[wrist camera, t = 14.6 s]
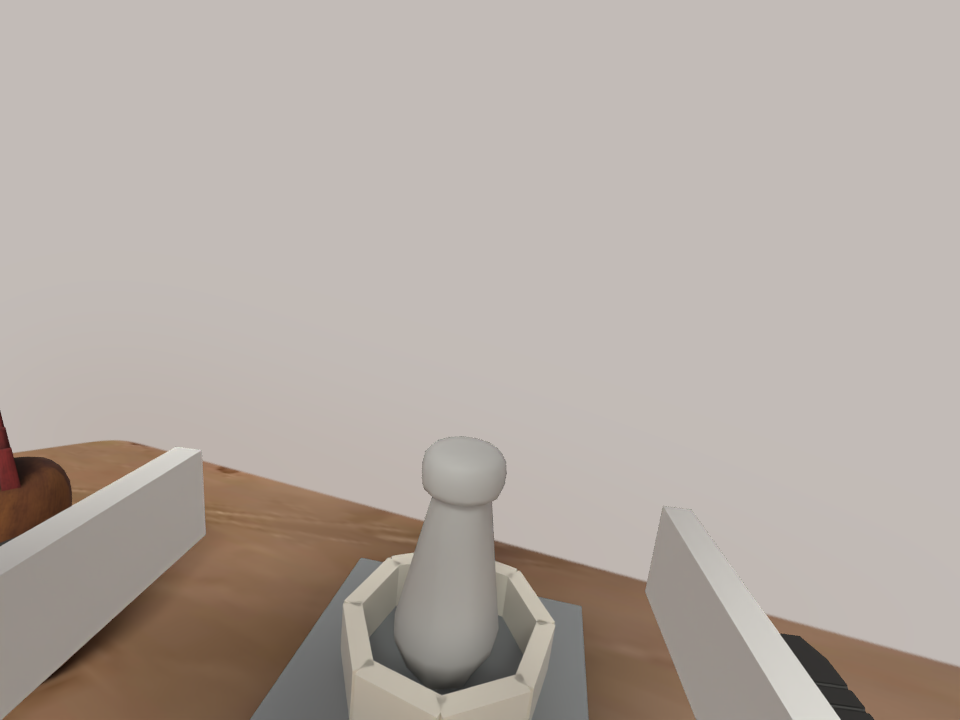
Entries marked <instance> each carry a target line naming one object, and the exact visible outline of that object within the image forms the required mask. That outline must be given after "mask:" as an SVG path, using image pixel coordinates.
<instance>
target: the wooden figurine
mask: <svg viewBox="0 0 960 720" xmlns="http://www.w3.org/2000/svg"><path fill="white" fill-rule="evenodd" d="M71 506H72V491H71V485H70V480H69V478H68V476H67V475H66V473H65V471H64V470H63V469H62V468H61V466H60V465H58V464H57V463H55V462H54V461H52V460H50V459H47V458H44V457H18V458H14V457H13V453H12V449H11V448H10V444H9V440H8V436H7V433H6V428H5V427H4V424H3V420H2V416H1V412H0V543H1V542H4V541H6V540H9V539H12V538H14V537H17V536H19V535H21V534H23V533H25V532H27V531H28V530H30V529H32V528H34V527H35V526H37V525H39V524H41V523H42V522H44V521H46V520H48V519H50V518H51V517H53V516H55V515H57V514H58V513H60V512H62V511H64V510H65V509H67V508H69V507H71ZM68 660H69V659H68ZM68 660H67V661H68ZM67 661H66V662H67ZM66 662H65V663H66ZM65 663H63V664H62V665H64V664H65ZM62 665H61V666H62ZM61 666H60V667H61ZM60 667H59V668H60Z"/></svg>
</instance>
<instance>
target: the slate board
mask: <svg viewBox="0 0 960 720" xmlns="http://www.w3.org/2000/svg"><path fill="white" fill-rule="evenodd" d="M382 563H383V562H379V561H374V560H370V559H365V558H360V560H359V561H358V563H357V564H356V566H355V567H354V569H353V570H352V571H351V573H350V574H349V576H348V577H347V579H346V580H345V582H344V583H343V585H342V586H341V588H340V589H339V590H338V592H337V593H336V595H335V596H334V598H333V599H332V601H331V602H330V604H329V605H328V607H327V608H326V609H325V611H324V612H323V614H322V615H321V617H320V618H319V620H318V621H317V623H316V624H315V625H314V627H313V628H312V630H311V631H310V633H309V634H308V636H307V637H306V639H305V640H304V642H303V643H302V644H301V646H300V647H299V649H298V650H297V652H296V653H295V655H294V656H293V658H292V659H291V661H290V662H289V663H288V665H287V666H286V668H285V669H284V671H283V672H282V674H281V675H280V677H279V678H278V680H277V681H276V682H275V684H274V685H273V687H272V688H271V690H270V691H269V693H268V694H267V696H266V697H265V698H264V700H263V701H262V703H261V704H260V706H259V707H258V709H257V710H256V712H255V713H254V715H253V716H252V717H251V719H250V720H349V714H348V706H347V698H346V690H345V681H344V673H343V665H342V657H341V631H342V613H343V604H344V600H345V599H346V598H347V597H348V596H349V595H350V594H351V593H352V592H354V591H355V590H356V589H357V588H358V587H359V586H360V585H361V584H362V583H363V582H364V581H365V580H366V579H367V578H368V577H369V576H370V575H371V574H372V573H373V572H374V571H375V570H376V569H377V568H378V567H379V566H380V565H381V564H382ZM538 598H539V599H540V601H541V602H542V604H543V605H544V607H545V608H546V610H547V611H548V613H549V614H550V616H551V617H552V618H553V620H554V621H555V624H554V625H555V631H554V636H553V642H552V648H551V653H550V659H549V665H548V670H547V673H546V676H545V679H544V682H543V686H542V689H541V692H540V695H539V698H538V701H537V704H536V707H535V710H534V713H533V717H532V720H589V719H588V703H587V687H586V671H585V654H584V638H583V622H582V606H578V605H574V604H569V603H564V602H560V601H555V600H551V599H546V598H542V597H538ZM396 608H397V606H395V608H394V609H393V610H392V611H391V612H390V613H389V615H388V616H387V617H386V618H385V619H384V621H383V622H382V623H381V624H380V625H379V626H378V628H377V629H376V630H375V631H374V632H373V634H372V635H371V636H370V637H369V641H370V646H371V652H372V657H373V661H375V662H377V663H379V664H381V665H383V666H385V667H387V668H389V669H391V670H393V671H395V672H397V673H399V674H401V675H403V676H405V677H407V678H409V679H411V680H413V681H415V682H417V683H419V684H420V685H422V686H424V685H423V684H422V683H421V682H420V681H419V680H418V678H417V677H416V676H415V675H414V674H413V673H412V672H411V671H410V670H409V669H408V668H407V667H406V665H405V663H404V660H403V658H402V656H401V653H400V651H399V649H398V647H397V644H396V642H395V639H394V619H395V611H396ZM498 626H499V629H498V632H497V635H496V639H495V642H494V644H493V647H492V650H491V653H490V655H489V656H488V658H487V659H486V660H485V661H484V662H483V663H482V664H481V665H480V666H479V667H478V668H477V669H476V670H475V671H474V672H473V673H472V674H471V676H470V677H469V679H468V680H467V681H466V683H465V684H464V686H463V687H462V688H448V689H430V690H432V691H434V692H436V693H438V694H440V695H445V694H449V693H452V692H456V691H459V690H463V689H466V688H470V687H473V686H477V685H480V684H484V683H488V682H491V681H495V680H498V679H502V678H505V677H509V676H512V675H516V672H517V670H518V667H519V665H520V662H521V660H522V657H523V653H522V651H521V650H520V648H519V646H518V644H517V642H516V641H515V639H514V637H513V635H512V633H511V632H510V630H509V628H508V626H507V624H506V623H505V621H504V619H503V617H502V616H499V615H498ZM424 687H425V686H424Z"/></svg>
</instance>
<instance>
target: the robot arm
mask: <svg viewBox="0 0 960 720" xmlns="http://www.w3.org/2000/svg"><path fill="white" fill-rule="evenodd" d="M205 535H206V528H205V507H204V486H203V465H202V450H197V449H188V448H181V447H175V448H174V449H172V450H170V451H168V452H166V453H165V454H163V455H161V456H159V457H158V458H156V459H154V460H152V461H150V462H149V463H147V464H145V465H143V466H142V467H140V468H138V469H136V470H135V471H133V472H131V473H129V474H127V475H126V476H124V477H122V478H120V479H119V480H117V481H115V482H113V483H112V484H110V485H108V486H106V487H104V488H103V489H101V490H99V491H97V492H96V493H94V494H92V495H90V496H89V497H87V498H85V499H83V500H81V501H80V502H78V503H76V504H74V505H73V506H71V507H69V508H67V509H65V510H64V511H62V512H60V513H58V514H57V515H55V516H53V517H51V518H50V519H48V520H46V521H44V522H42V523H41V524H39V525H37V526H35V527H34V528H32V529H30V530H28V531H27V532H25V533H23V534H21V535H19V536H17V537H14V538H12V539H9V540H6V541H4V542H1V543H0V720H2V719H3V718H4V717H5V716H6V715H7V714H8V713H9V712H10V711H12V710H13V709H14V708H15V707H16V706H17V705H18V704H19V703H20V702H21V701H23V700H24V699H25V698H26V697H27V696H28V695H29V694H30V693H31V692H33V691H34V690H35V689H36V688H37V687H38V686H39V685H40V684H41V683H42V682H44V681H45V680H46V679H47V678H48V677H49V676H50V675H51V674H52V673H54V672H55V671H56V670H57V669H58V668H59V667H60V666H61V665H62V664H63V663H65V662H66V661H67V660H68V659H69V658H70V657H71V656H72V655H73V654H74V653H76V652H77V651H78V650H79V649H80V648H81V647H82V646H83V645H84V644H86V643H87V642H88V641H89V640H90V639H91V638H92V637H93V636H94V635H95V634H97V633H98V632H99V631H100V630H101V629H102V628H103V627H104V626H105V625H107V624H108V623H109V622H110V621H111V620H112V619H113V618H114V617H115V616H116V615H118V614H119V613H120V612H121V611H122V610H123V609H124V608H125V607H126V606H127V605H129V604H130V603H131V602H132V601H133V600H134V599H135V598H136V597H137V596H139V595H140V594H141V593H142V592H143V591H144V590H145V589H146V588H147V587H148V586H150V585H151V584H152V583H153V582H154V581H155V580H156V579H157V578H158V577H160V576H161V575H162V574H163V573H164V572H165V571H166V570H167V569H168V568H169V567H171V566H172V565H173V564H174V563H175V562H176V561H177V560H178V559H179V558H180V557H182V556H183V555H184V554H185V553H186V552H187V551H188V550H189V549H190V548H192V547H193V546H194V545H195V544H196V543H197V542H198V541H199V540H200V539H201V538H203V537H204V536H205ZM645 593H646V595H647V598H648V600H649V603H650V605H651V608H652V610H653V613H654V615H655V618H656V620H657V623H658V625H659V628H660V630H661V633H662V635H663V638H664V640H665V643H666V645H667V648H668V650H669V653H670V655H671V658H672V660H673V663H674V665H675V668H676V670H677V673H678V675H679V678H680V680H681V683H682V685H683V688H684V690H685V693H686V695H687V698H688V700H689V703H690V706H691V708H692V711H693V713H694V716H695V718H696V720H874V719H873V717H872V716H871V715H870V714H868V713H866V712H865V707H864V706H863V705H862V703H861V702H860V701H859V700H858V698H857V697H856V696H855V694H854V693H853V692H852V691H850V690H848V688H847V684H846V683H845V682H844V680H843V679H842V678H841V677H840V675H839V674H838V673H837V671H836V670H835V669H834V668H833V666H832V665H831V664H830V663H829V661H828V660H827V659H826V658H825V657H824V656H822V655H821V654H820V653H819V652H818V651H817V650H815V649H814V648H813V647H812V646H811V645H809V644H808V643H807V642H806V641H805V640H804V639H802V638H801V637H800V636H795V635H787V634H780V633H779V632H778V631H777V629H776V628H775V626H774V625H773V624H772V622H771V621H770V619H769V618H768V617H767V615H766V614H765V612H764V611H763V610H762V608H761V607H760V605H759V604H758V603H757V601H756V600H755V598H754V597H753V596H752V594H751V593H750V591H749V590H748V589H747V587H746V586H745V584H744V583H743V582H742V580H741V579H740V577H739V576H738V575H737V573H736V572H735V570H734V569H733V568H732V566H731V565H730V563H729V562H728V560H727V559H726V558H725V556H724V555H723V553H722V552H721V551H720V549H719V548H718V546H717V545H716V544H715V542H714V541H713V539H712V538H711V536H710V535H709V534H708V532H707V531H706V530H705V528H704V527H703V525H702V524H701V523H700V521H699V520H698V518H697V517H696V515H695V514H694V513H693V511H692V510H691V509H683V508H675V507H667V506H663V508H662V513H661V518H660V523H659V528H658V532H657V537H656V542H655V547H654V552H653V557H652V561H651V566H650V571H649V576H648V581H647V585H646V590H645Z"/></svg>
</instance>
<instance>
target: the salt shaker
mask: <svg viewBox="0 0 960 720" xmlns="http://www.w3.org/2000/svg"><path fill="white" fill-rule="evenodd" d="M506 474H507V473H506V461H505V459H504V457H503V455H502V453H501V452H500V451H499V450H498V448H497V447H495V446H493V445H492V444H491V443H489V442H486V441H483V440H480V439H477V438H471V437H462V436H460V437H448V438H444V439H441V440H438V441H437V442H435V443H434V444H433V445H431V446H430V447H429V448H428V449H427V450H426V451H425V455H424V458H423V462H422V481H423V486H424V489H425V490H426V491H427V492H428V493H429V494H430V495H431V496H432V499H431V502H430V505H429V508H428V511H427V514H426V518H425V520H424V524H423V527H422V530H421V533H420V536H419V539H418V542H417V546H416V549H415V552H414V555H413V558H412V561H411V564H410V567H409V571H408V574H407V577H406V580H405V583H404V586H403V589H402V593H401V596H400V599H399V602H398V605H397V608H396V611H395V619H394V639H395V642H396V644H397V647H398V649H399V651H400V653H401V656H402V658H403V660H404V663H405V665H406V667H407V668H408V669H409V670H410V671H411V672H412V673H413V674H414V675H415V676H416V677H417V678H418V680H419V681H420V682H421V683H422V684H423V685H424V686H425V687H426V688H428V689H448V688H462V687H463V686H464V684H465V683H466V681H467V680H468V679H469V677H470V676H471V674H472V673H473V672H474V671H475V670H476V669H477V668H478V667H479V666H480V665H481V664H482V663H483V662H484V661H485V660H486V659H487V658H488V656H489V655H490V653H491V650H492V647H493V644H494V642H495V639H496V635H497V632H498V629H499V626H498V607H497V589H496V570H495V551H494V532H493V515H492V501H494V500H496V499H497V498H498V496H499V494H500V493H501V491H502V489H503V486H504V484H505V479H506Z"/></svg>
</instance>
